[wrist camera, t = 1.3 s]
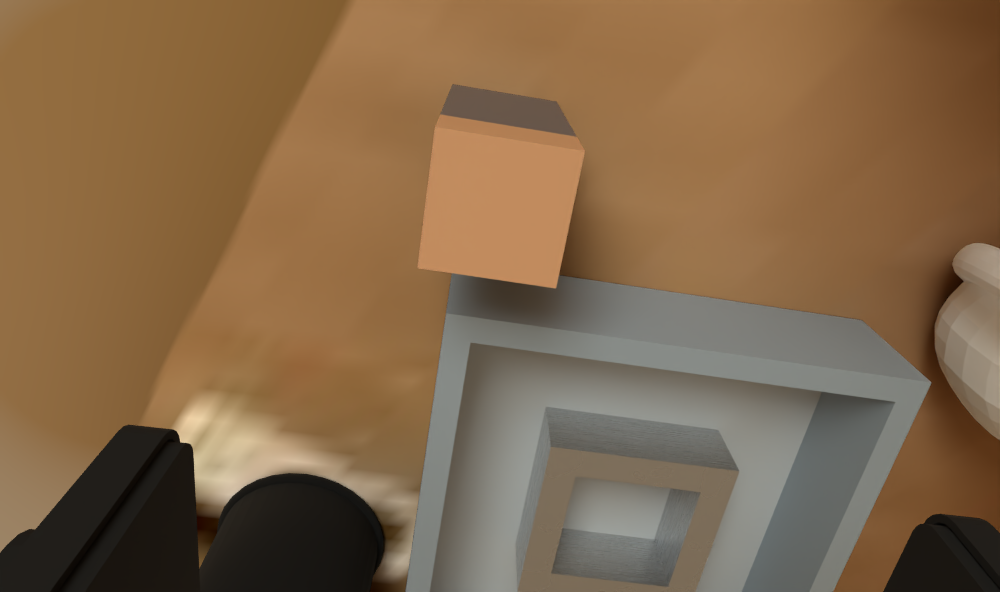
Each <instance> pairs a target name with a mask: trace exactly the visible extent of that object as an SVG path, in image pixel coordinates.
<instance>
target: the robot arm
mask: <svg viewBox="0 0 1000 592" xmlns="http://www.w3.org/2000/svg"><path fill="white" fill-rule="evenodd" d="M0 592H200V576H199V556H198V537H197V517H196V497H195V478H194V458H193V449H192V446H191V445H190V444H188V443H180V439H179V435H178V433H177V431H175V430H172V429H163V428H154V427H145V426H135V425H127V426H124V427H122V428H121V429H120V430H119V431H118V432H117V433H116V434H115V436H114V437H113V438H112V439H111V440H110V442H109V443H108V444H107V445H106V446H105V448H104V449H103V450H102V451H101V452H100V453H99V455H98V456H97V457H96V458H95V459H94V461H93V462H92V463H91V464H90V466H89V467H88V468H87V469H86V470H85V471H84V473H83V474H82V475H81V476H80V477H79V479H78V480H77V481H76V482H75V483H74V484H73V486H72V487H71V488H70V489H69V491H67V493H66V494H65V495H64V496H63V497H62V499H61V500H60V501H59V502H58V503H57V505H56V506H55V507H54V508H53V509H52V511H51V512H50V513H49V514H48V515H47V516H46V518H45V519H44V520H43V521H42V522H41V523H40V525H39V526H38V527H37V528H36V529H35V530H33V529H29V530H27V531H25V532H22V533H20V534H18V535H17V536H16V537H15V538H14V539H13V540H12V541H11V542H10V543H9V544H8V545H7V546H6V547H5V548H4V549H3V550H2V551H1V553H0ZM883 592H1000V533H999V532H998V531H997V530H996V529H995V528H994V527H993V526H992V525H991V524H990V523H988V522H987V521H985V520H982V519H980V518H972V517H963V516H954V515H945V514H935V515H932V516H931V517H929V518H928V519H927V520H926V521H925V523H924V524H920V525H918V526H917V527H916V528H915V529H914V530H913V532H912V534H911V536H910V538H909V540H908V542H907V544H906V546H905V548H904V550H903V552H902V554H901V556H900V558H899V561H898V563H897V565H896V567H895V569H894V571H893V573H892V575H891V577H890V579H889V581H888V583H887V585H886V587H885V589H884V591H883Z"/></svg>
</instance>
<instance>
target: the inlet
mask: <svg viewBox="0 0 1000 592" xmlns="http://www.w3.org/2000/svg"><path fill="white" fill-rule="evenodd" d="M739 472H740V471H739V469H738V467H737V465H736V463H735V461H734V459H733V457H732V456H731V454H730V452H729V450H728V448H727V446H726V444H725V442H724V440H723V438H722V436H721V434H720V432H719V430H716V429H709V428H701V427H694V426H686V425H679V424H671V423H664V422H657V421H649V420H642V419H634V418H627V417H619V416H612V415H604V414H597V413H589V412H582V411H575V410H567V409H560V408H552V407H546V408H545V412H544V417H543V422H542V426H541V431H540V435H539V440H538V444H537V449H536V453H535V458H534V462H533V467H532V471H531V476H530V480H529V485H528V489H527V494H526V498H525V503H524V507H523V512H522V516H521V521H520V525H519V530H518V534H517V539H516V543H515V545H516V569H517V592H696V589H697V586H698V583H699V581H700V578H701V575H702V572H703V570H704V567H705V564H706V562H707V559H708V556H709V553H710V551H711V548H712V545H713V542H714V540H715V537H716V534H717V532H718V529H719V526H720V523H721V521H722V518H723V515H724V512H725V510H726V507H727V504H728V502H729V499H730V496H731V493H732V491H733V488H734V485H735V482H736V480H737V477H738V474H739ZM576 476H577V477H585V478H593V479H600V480H608V481H616V482H624V483H632V484H640V485H648V486H655V487H663V488H671V489H670V492H669V495H668V498H667V501H666V504H665V507H664V510H663V514H662V517H661V520H660V523H659V526H658V529H657V532H656V535H655V538H654V539H647V538H639V537H630V536H622V535H614V534H606V533H597V532H589V531H581V530H573V529H564V528H563V524H564V520H565V516H566V513H567V509H568V505H569V501H570V497H571V493H572V489H573V485H574V481H575V477H576Z"/></svg>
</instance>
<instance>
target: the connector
mask: <svg viewBox="0 0 1000 592" xmlns="http://www.w3.org/2000/svg"><path fill="white" fill-rule="evenodd" d="M584 154H585V150H584V149H583V147H582V145H581V143H580V142H579V140H578V138H577V136H576V135H575V133H574V131H573V130H572V128H571V126H570V124H569V123H568V121H567V119H566V117H565V116H564V114H563V112H562V110H561V109H560V107H559V105H558V104H557V102H556V101H550V100H544V99H538V98H532V97H526V96H520V95H514V94H508V93H502V92H496V91H490V90H484V89H478V88H472V87H466V86H460V85H454V84H453V85H452V87H451V90H450V92H449V94H448V97H447V99H446V102H445V104H444V107H443V109H442V111H441V114H440V116H439V119H438V121H437V124H436V126H435V132H434V140H433V148H432V156H431V164H430V172H429V180H428V188H427V196H426V204H425V212H424V220H423V228H422V236H421V244H420V252H419V260H418V268H420V269H427V270H434V271H441V272H447V273H454V274H461V275H468V276H475V277H481V278H488V279H495V280H502V281H509V282H515V283H522V284H529V285H536V286H543V287H550V288H556V286H557V282H558V277H559V272H560V267H561V263H562V258H563V253H564V248H565V244H566V239H567V234H568V230H569V225H570V220H571V215H572V211H573V206H574V201H575V196H576V192H577V187H578V182H579V178H580V173H581V168H582V163H583V159H584Z"/></svg>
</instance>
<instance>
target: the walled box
mask: <svg viewBox="0 0 1000 592" xmlns="http://www.w3.org/2000/svg"><path fill="white" fill-rule="evenodd" d="M931 383H932V382H930V381H929V380H928V379H927V378H926V377H925V376H924V375H923V374H921V373H920V372H919V371H918V370H917V369H916V368H915V367H914V366H913V365H911V364H910V363H909V362H908V361H907V360H906V359H905V358H904V357H902V356H901V355H900V354H899V353H898V352H897V351H896V350H895V349H894V348H892V347H891V346H890V345H889V344H888V343H887V342H886V341H885V340H884V339H882V338H881V337H880V336H879V335H878V334H877V333H876V332H875V331H873V330H872V329H871V328H870V327H869V326H868V325H867V324H866V323H865V322H863V321H862V320H857V319H850V318H843V317H837V316H830V315H823V314H816V313H810V312H803V311H796V310H790V309H783V308H776V307H769V306H763V305H756V304H749V303H742V302H736V301H729V300H722V299H715V298H709V297H702V296H695V295H689V294H682V293H675V292H668V291H662V290H655V289H648V288H641V287H635V286H628V285H621V284H614V283H608V282H601V281H594V280H588V279H581V278H574V277H567V276H561V275H559V277H558V282H557V286H556V288H550V287H543V286H536V285H529V284H522V283H515V282H509V281H502V280H495V279H488V278H481V277H475V276H468V275H461V274H454V273H452V276H451V283H450V290H449V297H448V303H447V310H446V317H445V324H444V331H443V338H442V345H441V351H440V358H439V365H438V372H437V379H436V386H435V392H434V399H433V406H432V413H431V420H430V427H429V434H428V440H427V447H426V454H425V461H424V468H423V475H422V482H421V488H420V495H419V502H418V509H417V516H416V523H415V530H414V536H413V543H412V550H411V557H410V564H409V571H408V578H407V584H406V591H405V592H517V569H516V545H515V543H516V539H517V534H518V530H519V525H520V521H521V516H522V512H523V507H524V503H525V498H526V494H527V489H528V485H529V480H530V476H531V471H532V467H533V462H534V458H535V453H536V449H537V444H538V440H539V435H540V431H541V426H542V422H543V417H544V412H545V408H546V407H552V408H560V409H567V410H575V411H582V412H589V413H597V414H604V415H612V416H619V417H627V418H634V419H642V420H649V421H657V422H664V423H671V424H679V425H686V426H694V427H701V428H709V429H716V430H719V432H720V434H721V436H722V438H723V440H724V442H725V444H726V446H727V448H728V450H729V452H730V454H731V456H732V457H733V459H734V461H735V463H736V465H737V467H738V469H739V471H740V472H739V474H738V477H737V480H736V482H735V485H734V488H733V491H732V493H731V496H730V499H729V502H728V504H727V507H726V510H725V512H724V515H723V518H722V521H721V523H720V526H719V529H718V532H717V534H716V537H715V540H714V542H713V545H712V548H711V551H710V553H709V556H708V559H707V562H706V564H705V567H704V570H703V572H702V575H701V578H700V581H699V583H698V586H697V589H696V592H833V591H834V588H835V586H836V584H837V582H838V580H839V578H840V576H841V574H842V571H843V569H844V567H845V565H846V563H847V561H848V559H849V557H850V555H851V552H852V550H853V548H854V546H855V544H856V542H857V540H858V538H859V535H860V533H861V531H862V529H863V527H864V525H865V523H866V521H867V518H868V516H869V514H870V512H871V510H872V508H873V506H874V504H875V502H876V499H877V497H878V495H879V493H880V491H881V489H882V487H883V485H884V482H885V480H886V478H887V476H888V474H889V472H890V470H891V468H892V465H893V463H894V461H895V459H896V457H897V455H898V453H899V451H900V449H901V446H902V444H903V442H904V440H905V438H906V436H907V434H908V432H909V429H910V427H911V425H912V423H913V421H914V419H915V417H916V415H917V412H918V410H919V408H920V406H921V404H922V402H923V400H924V398H925V396H926V393H927V391H928V389H929V387H930V385H931ZM670 489H671V488H663V487H655V486H648V485H640V484H632V483H624V482H616V481H608V480H600V479H593V478H585V477H577V476H576V477H575V481H574V485H573V489H572V493H571V497H570V501H569V505H568V509H567V513H566V516H565V520H564V524H563V528H564V529H573V530H581V531H589V532H597V533H606V534H614V535H622V536H630V537H639V538H647V539H654V538H655V535H656V532H657V529H658V526H659V523H660V520H661V517H662V514H663V510H664V507H665V504H666V501H667V498H668V495H669V492H670Z"/></svg>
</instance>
